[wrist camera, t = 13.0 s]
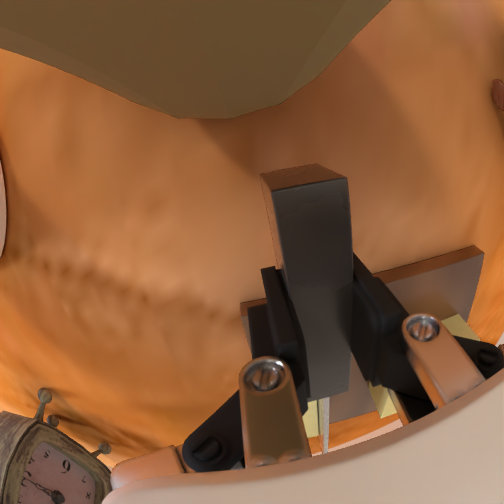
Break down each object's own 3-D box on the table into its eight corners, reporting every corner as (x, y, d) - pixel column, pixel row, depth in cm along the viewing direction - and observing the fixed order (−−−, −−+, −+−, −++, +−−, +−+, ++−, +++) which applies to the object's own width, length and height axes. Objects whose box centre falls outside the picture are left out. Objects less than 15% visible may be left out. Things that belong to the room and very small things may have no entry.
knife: (305, 434, 17) (311, 463, 14) (259, 173, 9) (270, 191, 6) (331, 427, 17) (340, 455, 14) (317, 162, 9) (348, 176, 6)
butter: (368, 387, 17) (380, 418, 15) (375, 344, 15) (393, 379, 13) (442, 359, 17) (458, 384, 14) (458, 313, 15) (480, 339, 12)
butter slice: (284, 407, 18) (289, 441, 15) (274, 366, 15) (279, 407, 13) (311, 401, 18) (319, 435, 15) (306, 360, 15) (317, 399, 13)
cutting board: (276, 423, 21) (277, 434, 20) (239, 302, 15) (240, 316, 14) (436, 374, 20) (442, 383, 19) (474, 244, 14) (485, 252, 13)
